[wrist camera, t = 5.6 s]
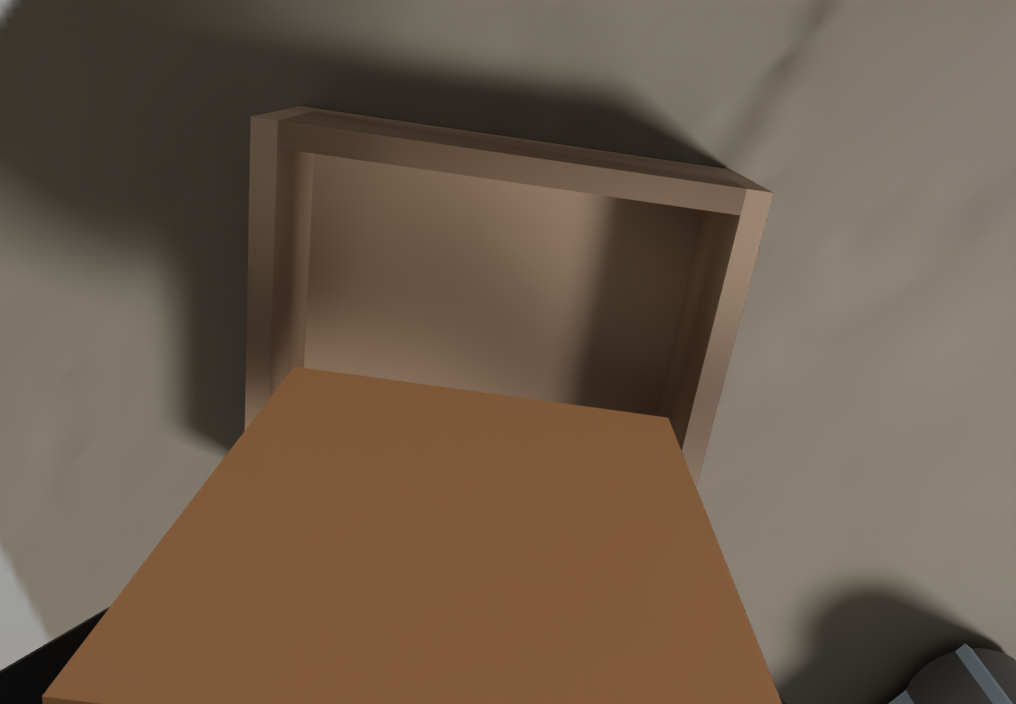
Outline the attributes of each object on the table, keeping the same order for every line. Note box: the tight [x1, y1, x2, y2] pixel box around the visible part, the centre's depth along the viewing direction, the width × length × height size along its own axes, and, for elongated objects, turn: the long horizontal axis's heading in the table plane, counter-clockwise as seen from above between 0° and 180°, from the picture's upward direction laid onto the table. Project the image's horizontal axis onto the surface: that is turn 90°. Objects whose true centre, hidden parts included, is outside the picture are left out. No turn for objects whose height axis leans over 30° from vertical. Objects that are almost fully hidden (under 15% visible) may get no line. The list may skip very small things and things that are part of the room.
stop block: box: [42, 367, 782, 704], centre depth 7 cm, size 4×4×4 cm
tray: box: [245, 106, 773, 486], centre depth 14 cm, size 8×8×3 cm
